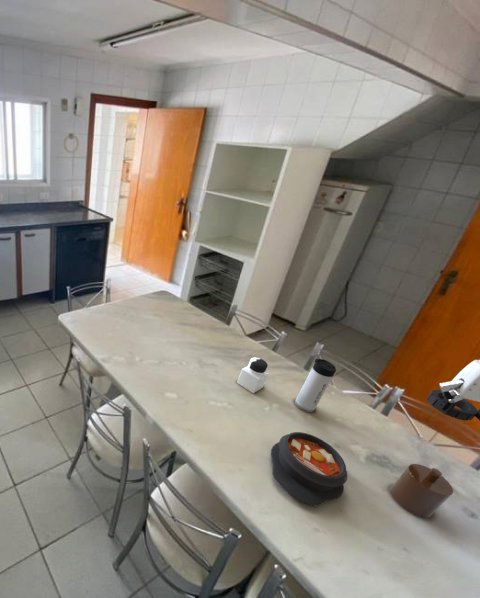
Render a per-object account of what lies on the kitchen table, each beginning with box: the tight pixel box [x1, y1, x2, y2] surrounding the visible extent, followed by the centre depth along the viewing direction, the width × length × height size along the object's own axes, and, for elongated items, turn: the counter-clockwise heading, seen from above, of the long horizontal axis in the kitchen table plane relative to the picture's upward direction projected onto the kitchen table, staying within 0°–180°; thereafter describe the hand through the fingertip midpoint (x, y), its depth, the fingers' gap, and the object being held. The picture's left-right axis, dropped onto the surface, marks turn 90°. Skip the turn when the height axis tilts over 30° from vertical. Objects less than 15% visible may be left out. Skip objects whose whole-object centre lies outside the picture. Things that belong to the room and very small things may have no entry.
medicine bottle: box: [236, 357, 270, 394], centre depth 127 cm, size 7×7×12 cm
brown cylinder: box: [389, 463, 454, 519], centre depth 88 cm, size 9×9×13 cm
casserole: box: [270, 431, 348, 507], centre depth 95 cm, size 25×19×8 cm
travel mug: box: [294, 358, 337, 413], centre depth 117 cm, size 6×7×20 cm
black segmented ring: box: [426, 389, 478, 422], centre depth 92 cm, size 9×9×2 cm
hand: (460, 415), depth 89 cm, fingers closed on black segmented ring, 7 cm apart
